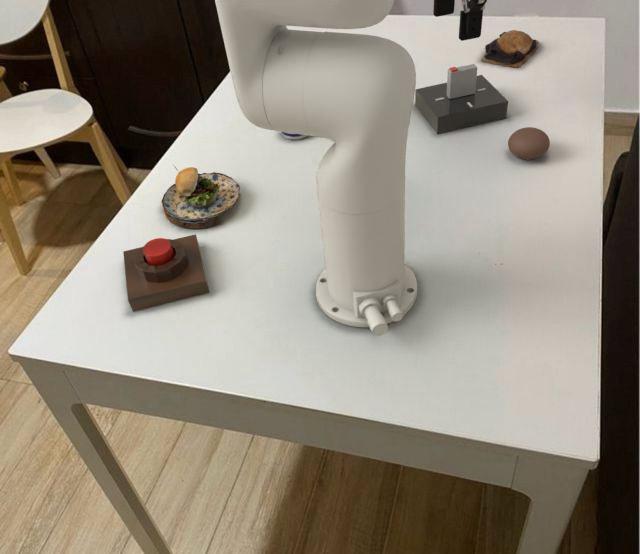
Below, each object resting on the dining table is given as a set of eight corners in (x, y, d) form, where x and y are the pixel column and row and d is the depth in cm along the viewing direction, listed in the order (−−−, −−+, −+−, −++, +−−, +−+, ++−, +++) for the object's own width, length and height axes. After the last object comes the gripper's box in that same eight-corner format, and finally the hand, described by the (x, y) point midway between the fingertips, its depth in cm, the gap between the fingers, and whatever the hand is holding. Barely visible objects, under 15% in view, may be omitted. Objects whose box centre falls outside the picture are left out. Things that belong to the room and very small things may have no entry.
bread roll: (500, 38, 127) (502, 18, 125) (542, 45, 124) (545, 25, 121) (476, 61, 122) (478, 41, 119) (520, 69, 118) (523, 48, 115)
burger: (227, 232, 93) (216, 188, 88) (151, 226, 96) (136, 183, 90) (252, 183, 101) (244, 140, 95) (181, 179, 103) (169, 136, 98)
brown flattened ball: (553, 150, 100) (558, 126, 97) (537, 170, 97) (542, 146, 94) (516, 140, 102) (520, 117, 99) (499, 159, 99) (502, 135, 96)
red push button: (175, 262, 84) (172, 252, 83) (147, 269, 84) (143, 258, 82) (172, 245, 86) (169, 235, 85) (145, 252, 86) (141, 241, 85)
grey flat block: (471, 90, 108) (474, 62, 105) (475, 93, 107) (477, 65, 104) (446, 95, 108) (447, 67, 104) (449, 99, 107) (451, 71, 103)
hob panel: (506, 118, 107) (508, 100, 105) (437, 134, 106) (438, 116, 103) (480, 91, 114) (481, 73, 112) (415, 105, 112) (415, 88, 110)
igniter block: (209, 293, 85) (202, 269, 82) (132, 312, 84) (123, 289, 81) (199, 246, 92) (192, 223, 89) (128, 263, 90) (118, 240, 88)
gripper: (522, -98, 80) (505, 43, 92) (464, -126, 92) (456, 2, 104) (464, -88, 79) (455, 53, 92) (414, -118, 91) (412, 10, 103)
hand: (456, 26), depth 98 cm, fingers open, 9 cm apart
